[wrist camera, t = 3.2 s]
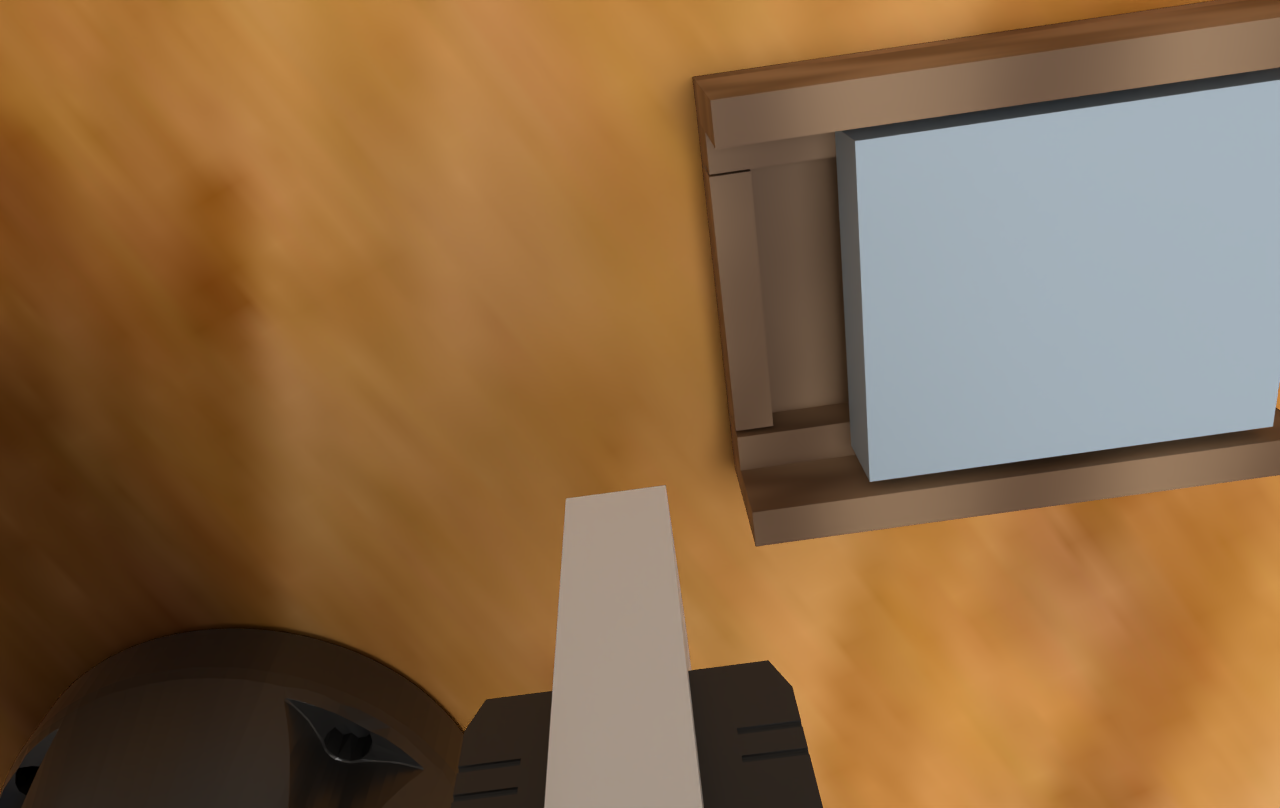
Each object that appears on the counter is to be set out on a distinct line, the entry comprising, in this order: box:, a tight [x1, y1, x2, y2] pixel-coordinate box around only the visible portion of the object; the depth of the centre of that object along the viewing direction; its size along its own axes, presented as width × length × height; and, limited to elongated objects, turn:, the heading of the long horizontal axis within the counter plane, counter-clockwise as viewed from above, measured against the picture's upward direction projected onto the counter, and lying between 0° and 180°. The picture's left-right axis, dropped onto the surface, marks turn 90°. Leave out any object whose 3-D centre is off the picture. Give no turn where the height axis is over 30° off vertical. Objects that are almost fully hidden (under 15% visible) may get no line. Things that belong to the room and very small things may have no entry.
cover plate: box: [835, 67, 1280, 482], centre depth 24 cm, size 10×8×2 cm
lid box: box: [693, 0, 1280, 546], centre depth 25 cm, size 14×11×4 cm
